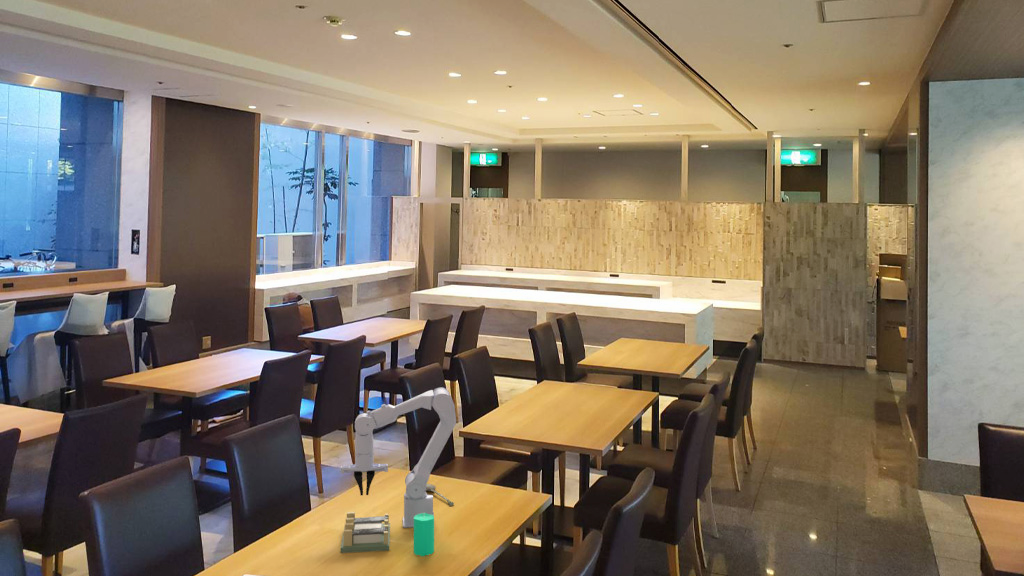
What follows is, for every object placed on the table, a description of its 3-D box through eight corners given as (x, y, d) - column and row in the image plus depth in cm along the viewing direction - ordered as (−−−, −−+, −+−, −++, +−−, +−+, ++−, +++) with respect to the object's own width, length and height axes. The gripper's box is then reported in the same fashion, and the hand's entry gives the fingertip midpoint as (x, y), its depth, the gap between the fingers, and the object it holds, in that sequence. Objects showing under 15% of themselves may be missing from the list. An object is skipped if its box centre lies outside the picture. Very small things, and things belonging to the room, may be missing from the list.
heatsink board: (390, 527, 238) (390, 509, 237) (389, 550, 221) (389, 530, 220) (344, 529, 236) (344, 511, 235) (340, 552, 219) (340, 532, 218)
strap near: (387, 529, 226) (387, 526, 226) (387, 533, 223) (387, 530, 223) (348, 532, 224) (348, 529, 224) (348, 536, 221) (348, 533, 221)
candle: (425, 557, 216) (425, 517, 215) (409, 552, 219) (409, 512, 219) (438, 550, 221) (438, 510, 220) (422, 545, 225) (422, 506, 224)
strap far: (388, 518, 235) (387, 515, 235) (387, 521, 232) (387, 519, 232) (350, 520, 233) (350, 518, 233) (350, 524, 230) (350, 521, 230)
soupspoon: (429, 488, 277) (413, 492, 274) (429, 479, 277) (413, 483, 273) (459, 504, 259) (443, 509, 255) (459, 495, 259) (442, 499, 255)
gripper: (387, 447, 242) (387, 488, 243) (341, 449, 240) (341, 490, 241) (387, 454, 235) (387, 496, 237) (340, 456, 233) (340, 498, 234)
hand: (364, 494), depth 238 cm, fingers closed
